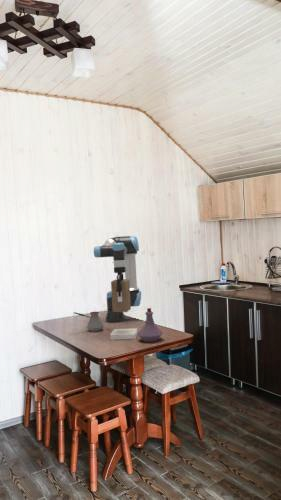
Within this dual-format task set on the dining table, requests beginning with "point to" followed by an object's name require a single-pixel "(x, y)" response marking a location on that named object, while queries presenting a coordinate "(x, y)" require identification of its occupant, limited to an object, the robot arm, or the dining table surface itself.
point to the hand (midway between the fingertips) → (121, 300)
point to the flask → (150, 329)
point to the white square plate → (124, 334)
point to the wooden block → (125, 289)
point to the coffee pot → (93, 322)
